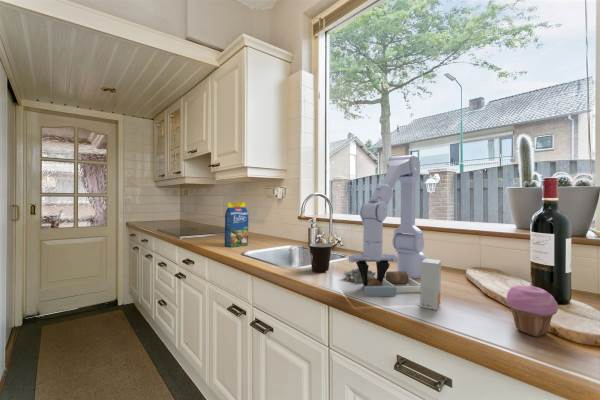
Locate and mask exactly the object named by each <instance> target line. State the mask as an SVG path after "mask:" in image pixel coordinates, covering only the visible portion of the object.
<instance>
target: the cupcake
mask: <svg viewBox="0 0 600 400" xmlns="http://www.w3.org/2000/svg"><path fill="white" fill-rule="evenodd" d="M506 304H507V306H509V308H510V311H511V313H512V316H513V320H514V321H513V322H514V325H515V328H516V329H517V330H518V331H520V332H522V333H526V334H527V335H529V336H532V337H540V336H542V335H547V334H548V333H549V332H550V329H551V321H552V318H553V315H555V314H557V312H558V309H559V305H558V301H556V299H555V297H554V296H553V295H552V294H551V293H549V292H548V291H547V290H545V289H544V288H541V287H537V286H532V285H513V287H511V288H509V290H508V291H507V294H506Z"/></svg>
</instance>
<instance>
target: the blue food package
mask: <svg viewBox="0 0 600 400" xmlns="http://www.w3.org/2000/svg"><path fill="white" fill-rule="evenodd" d="M224 215H225V216H224V247H227V246H228V248H236V247H244V246H249V211H248V210H247V207H246V202H227V209H226V210H225V214H224Z"/></svg>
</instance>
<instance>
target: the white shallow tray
mask: <svg viewBox="0 0 600 400" xmlns="http://www.w3.org/2000/svg"><path fill="white" fill-rule="evenodd" d="M408 278H409V277H408ZM382 286H395V287H396V294H402V293H403V294H404V293H405V294H406V293H407V294H409V293H420V292H421V282H420V283H419V282H418V281H416V280H414V279H413V278H409V280H408V283H407V284H391V283H390V282H388V281H387V280H386V275H385V276H384V278H383V282H382Z"/></svg>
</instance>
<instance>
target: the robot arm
mask: <svg viewBox="0 0 600 400" xmlns="http://www.w3.org/2000/svg"><path fill="white" fill-rule="evenodd" d="M420 177H421V161H420V158H419V157H418V155H417V154H414V153H413V154H409V155H399V156H389V158H388V159H387V162H386V173H385V175H384V178H383V180H382V182H381V184H378V185H376V187H375V189H374V190H373V192H372V194H371V196H370V198H369V199H368V201H367V202H365V203H364V204H362V205H361V207H360V210H359V216H360V219H361V225H362V226H363V238H362V239H363V240H362V241H363V245H362V252H363V253H362V254H349V255H348V262H349V263H355V264H356V266H357V268H359V271H360V273H361V277H362V282H363V283H362V285H363V287H364V286H367V274H368V270H369V268H370V267H369V264H368V263H374V262H375V263H376V264H375V265H376V279H377V280H378V281H380V282H381V284H382V282H383V278H384V276H386V272H388V269H389V268H390V264H391V263H390V262H392V263H397V264H396V265H397V266H396V267H397V268H396V271H406V272H407V274H408V277H409V278H411V279H421V262H422V261H423V260H425V259H427V258H426V256H425V253H423V252H422V251H423V250H424V248H425V239H424V232H423V231H422V230H421V229H420V228H419V227H417V226H416V197H417V195H416V194H417V191H416V189H417V187H416V186H417V180H418V179H419V178H420ZM398 180H399V182H400V183H401V185H400V186H401V191H400V225H399V226H398V227H396V228H395V229H394V231H393V236H392V241H391V242H392V246H393V248H394V249H395V252H397V255H396V254H385V253H383V230H384V228H383V226H384V225H383V224H384V221H385V220H386V218H387V215H388V209H389V207H388V205H389V203H390V201H391V199H392V196H393V194H394V192H393V188H394V186H395V185H396V183H397V181H398ZM382 285H383V284H382Z"/></svg>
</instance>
